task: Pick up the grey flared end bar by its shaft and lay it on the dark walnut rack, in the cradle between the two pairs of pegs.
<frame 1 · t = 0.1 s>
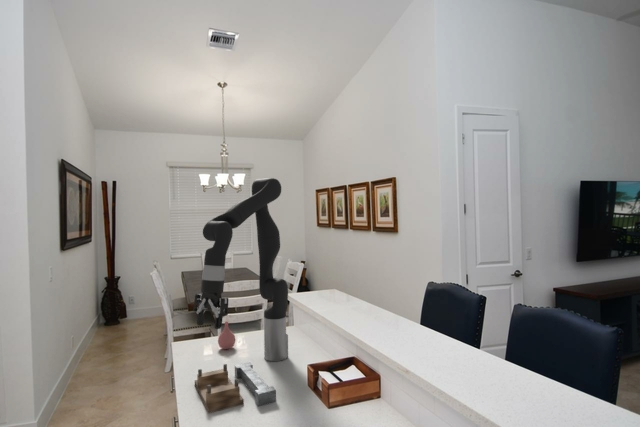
hand: (208, 326, 129), 22 cm above the counter, tool pointing down, fingers open, 8 cm apart
grey flared end bar: (253, 388, 132), on the counter
rack: (217, 393, 127), on the counter
pink teardrop shape: (226, 349, 170), on the counter
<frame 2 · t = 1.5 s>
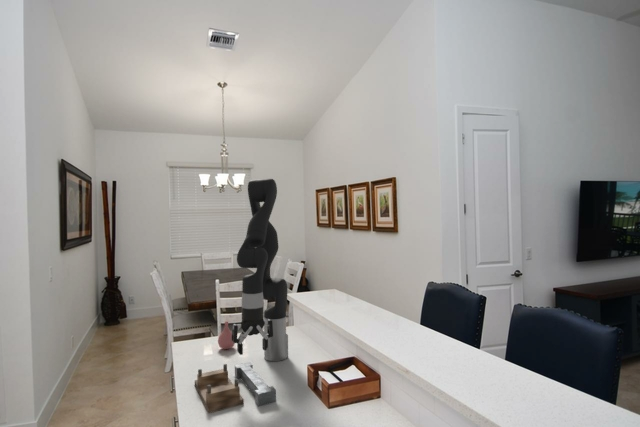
hand: (252, 351, 131), 13 cm above the counter, tool pointing down, fingers open, 8 cm apart
nothing on the counter moved.
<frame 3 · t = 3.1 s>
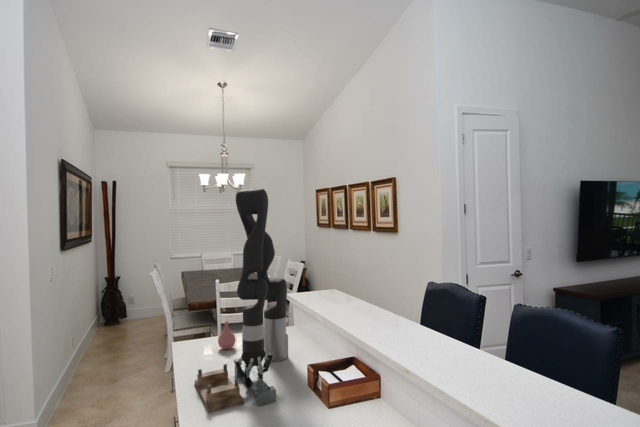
hand: (253, 385, 132), 1 cm above the counter, tool pointing down, fingers closed on grey flared end bar, 3 cm apart
grey flared end bar: (253, 387, 132), on the counter, touching gripper
everything else where it was.
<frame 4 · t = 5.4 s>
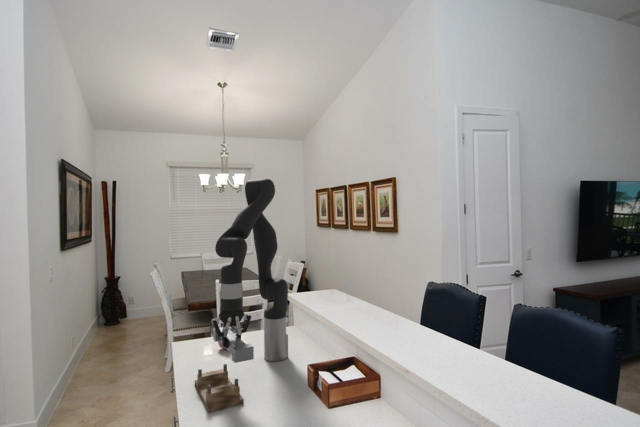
hand: (231, 346, 129), 16 cm above the counter, tool pointing down, fingers closed on grey flared end bar, 3 cm apart
grey flared end bar: (231, 348, 128), point 15 cm above the counter, touching gripper
everything else where it was.
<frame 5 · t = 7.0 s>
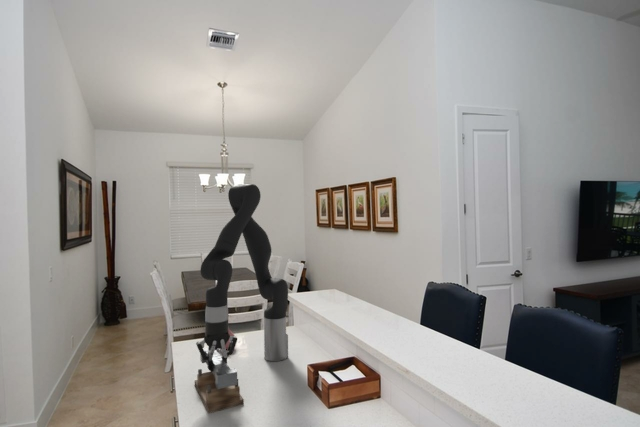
hand: (217, 369, 127), 8 cm above the counter, tool pointing down, fingers closed on grey flared end bar, 3 cm apart
grey flared end bar: (217, 371, 127), point 7 cm above the counter, touching gripper
everything else where it was.
when the fingers open (7 cm above the counter, at t = 8.0 s): grey flared end bar drops 1 cm, resting on rack.
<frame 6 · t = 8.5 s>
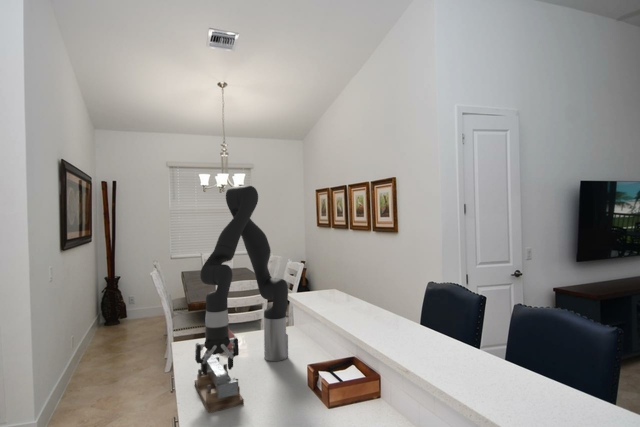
hand: (217, 371, 127), 8 cm above the counter, tool pointing down, fingers open, 8 cm apart
grey flared end bar: (217, 380, 128), point 4 cm above the counter, touching rack
everything else where it was.
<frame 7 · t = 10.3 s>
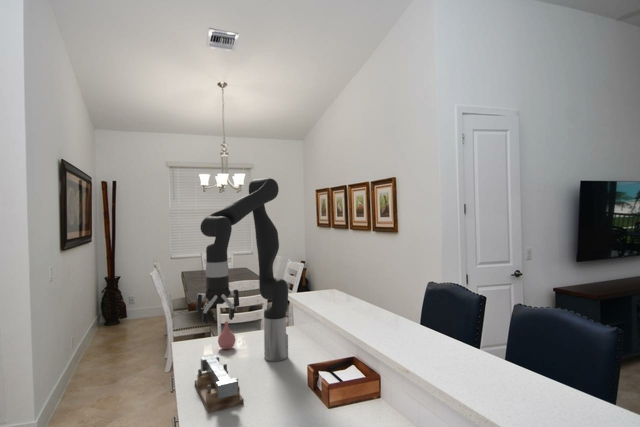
hand: (218, 321, 130), 24 cm above the counter, tool pointing down, fingers open, 8 cm apart
nothing on the counter moved.
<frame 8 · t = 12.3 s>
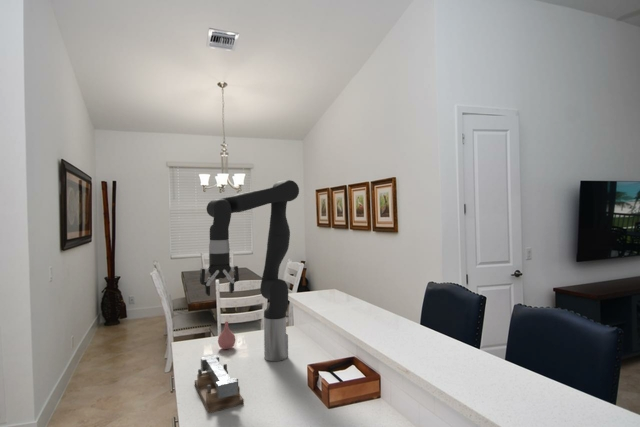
hand: (219, 294, 144), 30 cm above the counter, tool pointing down, fingers open, 8 cm apart
nothing on the counter moved.
at the end: grey flared end bar 0.1 cm off-centre on the rack, point 4.5 cm above the rack's base; grey flared end bar touching rack; the gripper is holding nothing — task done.
